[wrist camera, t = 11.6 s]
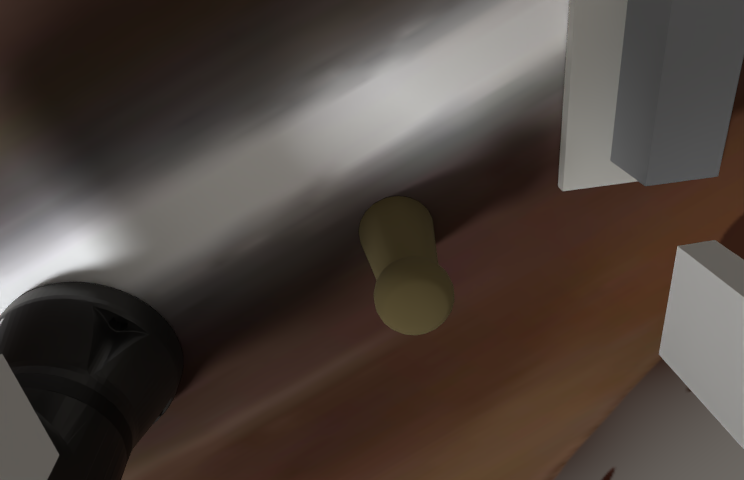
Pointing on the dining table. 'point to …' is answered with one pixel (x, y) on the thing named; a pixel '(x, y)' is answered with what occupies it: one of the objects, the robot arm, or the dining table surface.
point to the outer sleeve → (677, 88)
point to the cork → (405, 266)
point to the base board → (591, 94)
